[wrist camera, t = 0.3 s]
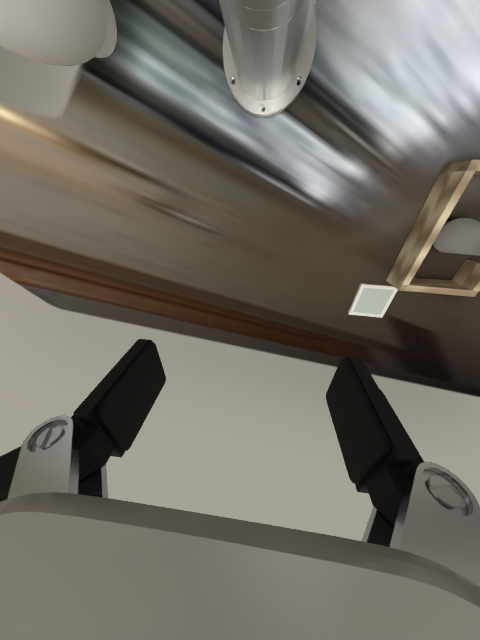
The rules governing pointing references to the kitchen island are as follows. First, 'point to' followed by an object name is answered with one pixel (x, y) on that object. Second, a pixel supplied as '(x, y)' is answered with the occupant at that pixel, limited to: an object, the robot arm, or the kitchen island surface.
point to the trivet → (372, 300)
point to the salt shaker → (459, 237)
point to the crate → (427, 229)
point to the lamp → (58, 30)
